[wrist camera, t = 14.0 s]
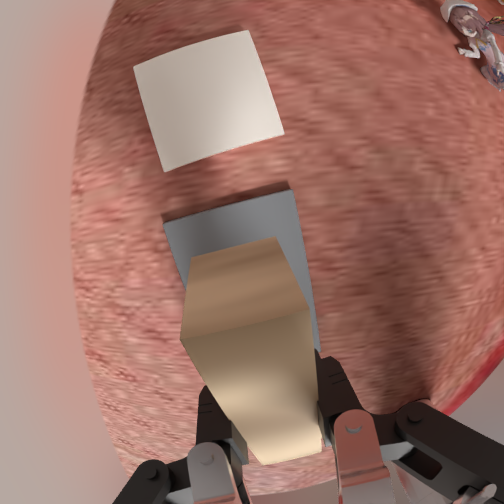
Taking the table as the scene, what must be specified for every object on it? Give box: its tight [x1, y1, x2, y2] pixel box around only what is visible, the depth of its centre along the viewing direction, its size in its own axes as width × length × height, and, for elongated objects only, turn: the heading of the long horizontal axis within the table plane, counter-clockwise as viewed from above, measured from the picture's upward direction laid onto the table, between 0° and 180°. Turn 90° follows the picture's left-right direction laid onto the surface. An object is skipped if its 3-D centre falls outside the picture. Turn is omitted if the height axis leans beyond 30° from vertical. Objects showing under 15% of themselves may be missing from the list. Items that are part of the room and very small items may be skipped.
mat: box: [163, 189, 321, 352], centre depth 20 cm, size 14×9×1 cm, turn 14°
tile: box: [133, 30, 285, 172], centre depth 16 cm, size 2×8×8 cm
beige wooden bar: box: [180, 236, 323, 465], centre depth 12 cm, size 17×5×4 cm, turn 13°
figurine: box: [440, 0, 504, 92], centre depth 11 cm, size 12×9×15 cm
